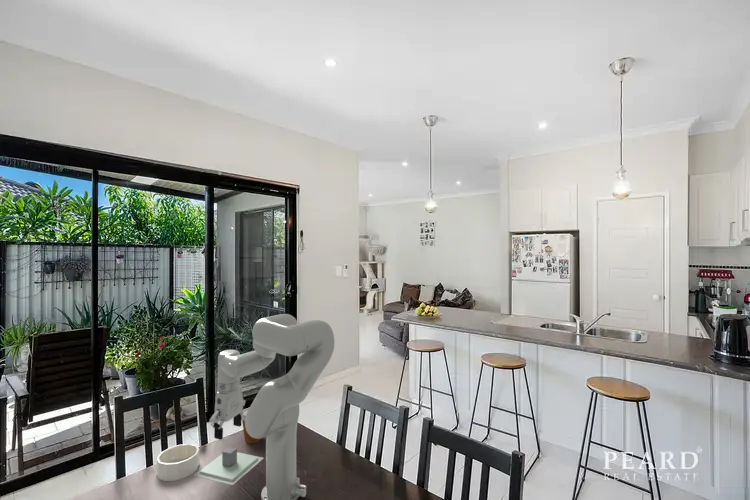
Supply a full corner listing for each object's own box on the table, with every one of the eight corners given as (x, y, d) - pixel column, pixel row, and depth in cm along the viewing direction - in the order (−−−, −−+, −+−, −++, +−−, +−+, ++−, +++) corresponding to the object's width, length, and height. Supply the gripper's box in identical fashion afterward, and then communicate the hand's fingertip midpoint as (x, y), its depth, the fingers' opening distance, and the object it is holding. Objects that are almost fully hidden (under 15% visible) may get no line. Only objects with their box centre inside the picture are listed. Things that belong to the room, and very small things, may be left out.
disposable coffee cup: (235, 444, 150) (235, 414, 150) (250, 433, 159) (250, 405, 159) (255, 448, 147) (255, 418, 147) (269, 436, 156) (269, 408, 156)
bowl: (206, 463, 137) (206, 447, 137) (177, 485, 124) (177, 467, 124) (179, 457, 141) (179, 441, 141) (148, 477, 129) (148, 460, 129)
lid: (258, 459, 139) (258, 443, 139) (232, 481, 126) (232, 464, 126) (227, 452, 143) (227, 437, 143) (199, 473, 130) (199, 456, 130)
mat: (263, 458, 140) (263, 457, 140) (232, 486, 124) (232, 485, 124) (227, 450, 145) (227, 449, 145) (192, 476, 129) (192, 475, 129)
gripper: (220, 396, 125) (219, 446, 125) (252, 378, 141) (252, 423, 142) (202, 392, 127) (201, 441, 128) (236, 375, 144) (236, 419, 144)
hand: (228, 431), depth 135 cm, fingers open, 9 cm apart
